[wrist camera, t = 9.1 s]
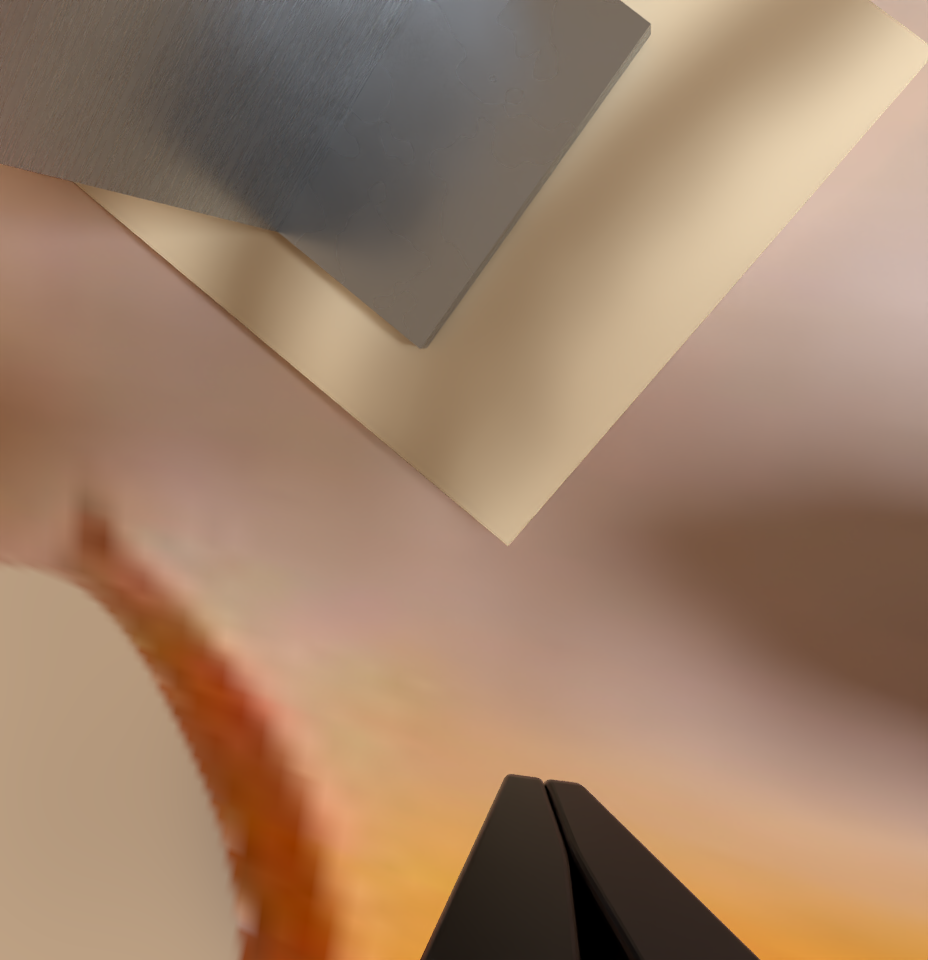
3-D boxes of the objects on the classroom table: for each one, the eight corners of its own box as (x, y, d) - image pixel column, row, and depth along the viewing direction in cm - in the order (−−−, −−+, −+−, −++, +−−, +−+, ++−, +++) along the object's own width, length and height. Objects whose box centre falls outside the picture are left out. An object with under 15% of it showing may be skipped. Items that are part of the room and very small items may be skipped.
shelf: (919, 67, 16) (1119, -123, 9) (514, 536, 20) (450, 637, 14) (261, -425, 17) (10, -911, 10) (28, 129, 22) (-244, 44, 15)
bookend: (650, 34, 16) (654, -400, 6) (426, 348, 19) (200, 373, 9) (386, -168, 16) (21, -854, 7) (209, 168, 19) (-218, 18, 10)
